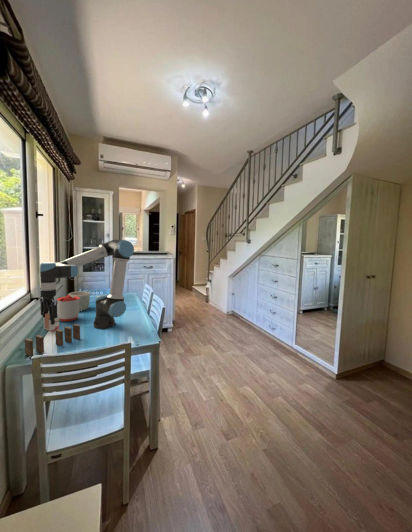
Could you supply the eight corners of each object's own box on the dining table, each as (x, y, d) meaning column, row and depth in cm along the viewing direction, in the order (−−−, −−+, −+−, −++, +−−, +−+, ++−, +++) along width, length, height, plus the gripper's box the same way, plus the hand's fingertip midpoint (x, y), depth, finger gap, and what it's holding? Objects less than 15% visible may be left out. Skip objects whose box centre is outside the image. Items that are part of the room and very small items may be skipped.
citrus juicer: (81, 315, 203) (81, 291, 201) (77, 322, 187) (77, 296, 185) (60, 316, 198) (60, 292, 196) (54, 323, 182) (53, 297, 180)
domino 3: (48, 327, 143) (47, 312, 143) (53, 329, 141) (52, 314, 140) (45, 328, 142) (45, 313, 141) (50, 330, 140) (50, 315, 139)
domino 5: (67, 340, 155) (66, 326, 154) (72, 341, 152) (71, 328, 151) (64, 340, 153) (64, 327, 152) (69, 342, 151) (69, 328, 150)
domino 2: (39, 349, 140) (38, 334, 139) (44, 352, 138) (43, 336, 137) (36, 351, 139) (35, 335, 138) (41, 353, 136) (40, 337, 135)
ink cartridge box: (59, 329, 172) (59, 308, 170) (53, 331, 167) (52, 310, 165) (51, 327, 175) (50, 307, 173) (44, 329, 170) (43, 308, 168)
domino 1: (28, 353, 135) (27, 338, 134) (33, 356, 133) (32, 340, 132) (25, 354, 134) (24, 339, 133) (30, 357, 131) (29, 341, 130)
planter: (69, 308, 220) (69, 291, 219) (90, 306, 227) (90, 290, 226) (67, 313, 205) (67, 296, 203) (90, 312, 212) (89, 294, 211)
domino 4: (58, 343, 150) (58, 329, 149) (63, 345, 147) (62, 330, 146) (55, 344, 148) (55, 329, 147) (60, 346, 146) (60, 331, 145)
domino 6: (75, 337, 159) (75, 323, 158) (80, 338, 157) (79, 325, 156) (73, 338, 158) (72, 324, 157) (77, 339, 156) (77, 326, 155)
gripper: (32, 288, 140) (33, 327, 143) (50, 292, 132) (51, 334, 134) (46, 286, 147) (47, 323, 149) (64, 290, 138) (64, 329, 141)
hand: (49, 328), depth 142 cm, fingers closed on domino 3, 5 cm apart
